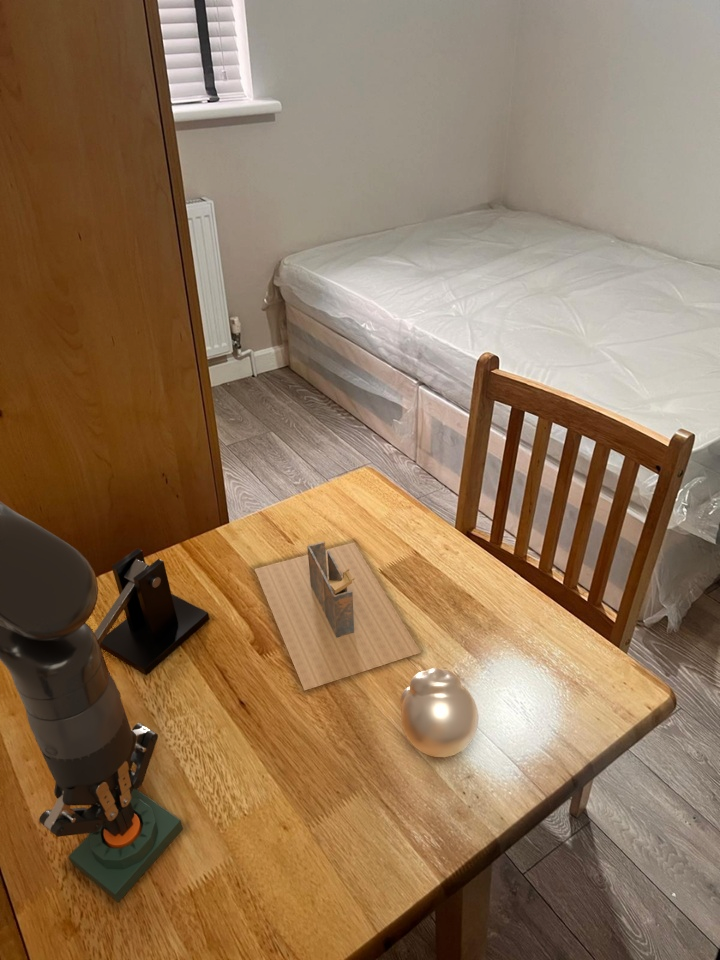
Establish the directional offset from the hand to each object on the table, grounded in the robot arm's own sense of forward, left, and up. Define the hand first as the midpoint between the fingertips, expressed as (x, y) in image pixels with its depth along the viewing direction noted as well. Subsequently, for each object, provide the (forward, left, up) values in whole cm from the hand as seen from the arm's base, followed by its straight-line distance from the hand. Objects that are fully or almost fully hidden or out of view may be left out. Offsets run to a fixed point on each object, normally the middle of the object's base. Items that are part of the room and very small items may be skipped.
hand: (121, 826), depth 75 cm
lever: (+18, +20, +3) cm, 27 cm away
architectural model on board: (+40, +2, -4) cm, 40 cm away
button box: (0, 0, -4) cm, 4 cm away
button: (0, 0, -2) cm, 2 cm away
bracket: (+23, +20, -4) cm, 31 cm away
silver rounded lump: (+29, -21, -4) cm, 36 cm away
